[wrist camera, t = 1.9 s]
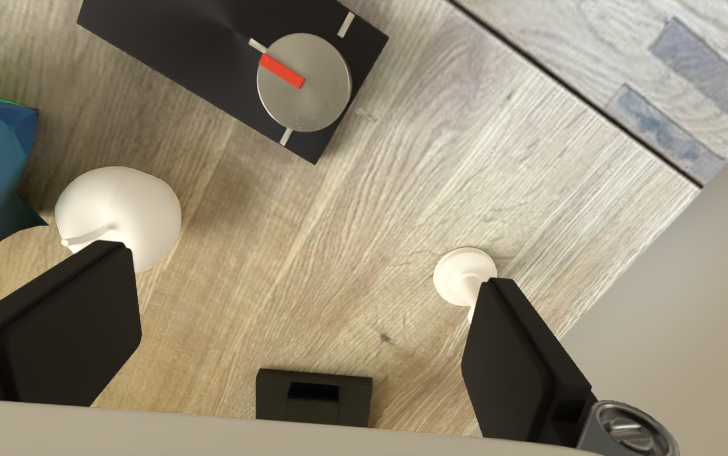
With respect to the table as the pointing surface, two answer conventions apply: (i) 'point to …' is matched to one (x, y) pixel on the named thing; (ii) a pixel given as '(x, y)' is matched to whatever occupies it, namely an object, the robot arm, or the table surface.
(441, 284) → the chess piece
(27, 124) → the sculpture
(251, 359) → the table surface
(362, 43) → the dial panel
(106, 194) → the plain white apple
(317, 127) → the knob
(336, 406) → the lever bracket
